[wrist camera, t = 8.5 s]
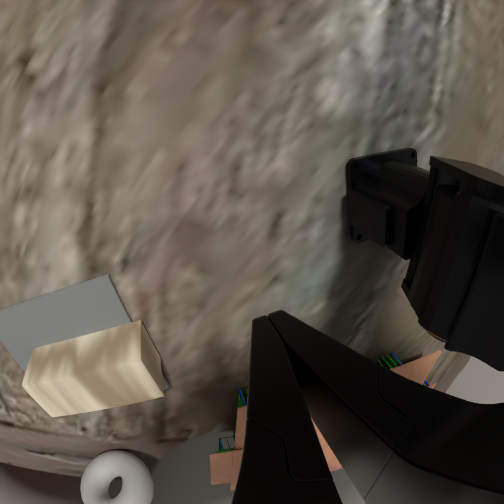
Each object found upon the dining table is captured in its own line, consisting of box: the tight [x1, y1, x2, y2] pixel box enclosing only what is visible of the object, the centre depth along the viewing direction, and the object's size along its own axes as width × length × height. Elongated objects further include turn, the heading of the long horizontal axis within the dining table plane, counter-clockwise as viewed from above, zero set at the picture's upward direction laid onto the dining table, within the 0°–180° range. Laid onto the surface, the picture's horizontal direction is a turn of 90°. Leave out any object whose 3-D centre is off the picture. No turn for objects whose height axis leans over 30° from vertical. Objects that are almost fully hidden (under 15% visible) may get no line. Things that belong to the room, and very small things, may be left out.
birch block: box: [22, 320, 164, 417], centre depth 19 cm, size 4×4×10 cm
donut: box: [81, 450, 153, 504], centre depth 24 cm, size 10×4×10 cm, turn 111°
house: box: [209, 350, 442, 490], centre depth 33 cm, size 23×33×8 cm
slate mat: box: [0, 274, 170, 390], centre depth 21 cm, size 12×12×1 cm
